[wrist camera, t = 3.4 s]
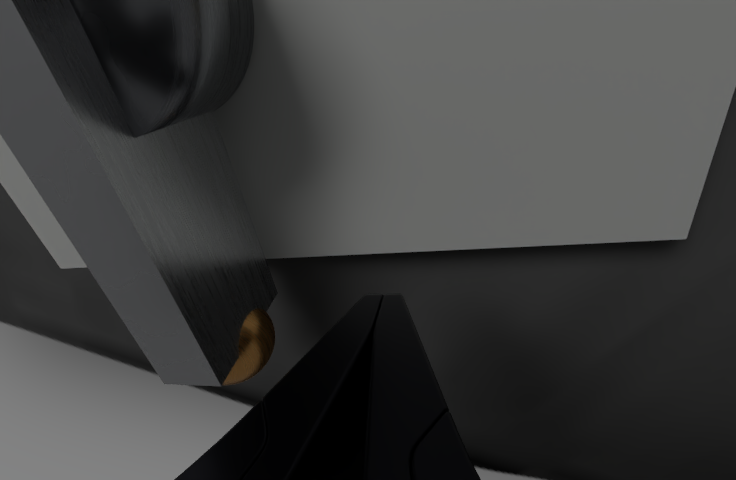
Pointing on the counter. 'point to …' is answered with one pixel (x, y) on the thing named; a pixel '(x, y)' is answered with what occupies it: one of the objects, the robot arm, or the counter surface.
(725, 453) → the counter surface
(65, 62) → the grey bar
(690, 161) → the white mechanism board
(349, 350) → the robot arm
